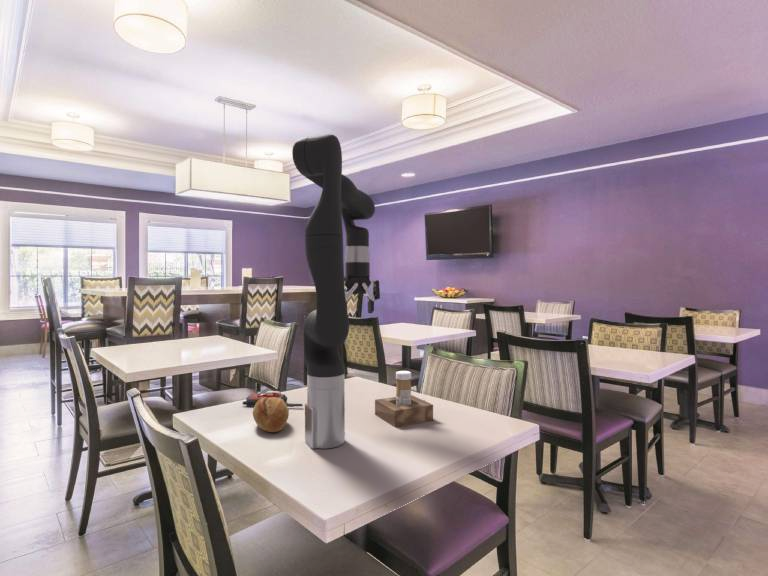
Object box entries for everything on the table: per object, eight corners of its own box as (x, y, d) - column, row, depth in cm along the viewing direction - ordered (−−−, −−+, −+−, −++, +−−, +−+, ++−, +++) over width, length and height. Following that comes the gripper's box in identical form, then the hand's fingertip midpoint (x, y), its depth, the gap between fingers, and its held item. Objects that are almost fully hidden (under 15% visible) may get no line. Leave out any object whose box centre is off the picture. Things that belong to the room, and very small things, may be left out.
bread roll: (254, 438, 114) (254, 407, 114) (251, 421, 128) (250, 393, 128) (292, 433, 118) (292, 403, 118) (284, 417, 132) (284, 390, 132)
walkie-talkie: (239, 409, 141) (301, 410, 140) (239, 395, 141) (301, 396, 139) (249, 401, 150) (308, 402, 148) (249, 388, 150) (308, 389, 148)
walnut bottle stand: (394, 426, 123) (394, 410, 123) (375, 414, 134) (374, 399, 134) (433, 420, 128) (433, 404, 128) (411, 409, 140) (411, 394, 139)
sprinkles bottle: (395, 415, 133) (394, 370, 133) (410, 414, 134) (410, 370, 134) (396, 419, 129) (396, 373, 129) (412, 419, 129) (412, 373, 129)
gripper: (340, 260, 131) (340, 315, 132) (383, 261, 138) (383, 313, 138) (331, 261, 138) (331, 313, 138) (373, 262, 144) (373, 312, 145)
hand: (357, 313), depth 138 cm, fingers open, 8 cm apart
